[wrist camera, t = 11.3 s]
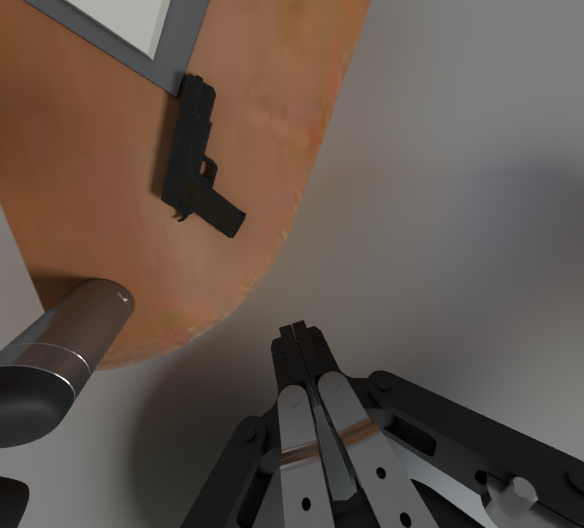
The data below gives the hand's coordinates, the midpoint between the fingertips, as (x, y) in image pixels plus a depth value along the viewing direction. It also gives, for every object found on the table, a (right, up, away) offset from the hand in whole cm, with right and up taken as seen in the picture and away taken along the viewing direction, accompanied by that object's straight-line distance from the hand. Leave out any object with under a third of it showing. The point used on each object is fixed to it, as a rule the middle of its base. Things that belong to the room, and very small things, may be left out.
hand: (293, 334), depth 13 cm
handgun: (-12, +19, +21) cm, 31 cm away
